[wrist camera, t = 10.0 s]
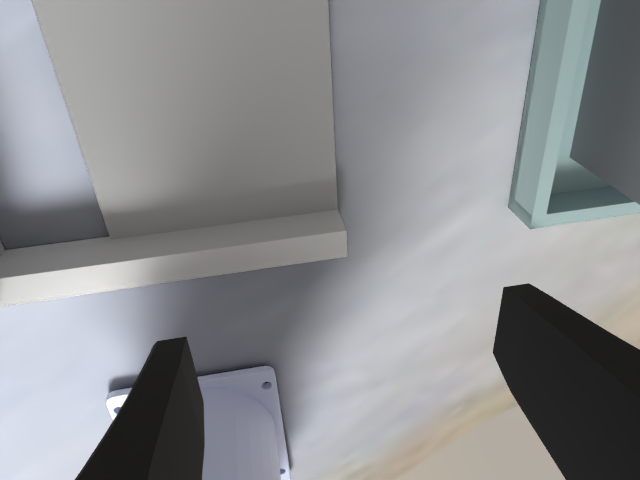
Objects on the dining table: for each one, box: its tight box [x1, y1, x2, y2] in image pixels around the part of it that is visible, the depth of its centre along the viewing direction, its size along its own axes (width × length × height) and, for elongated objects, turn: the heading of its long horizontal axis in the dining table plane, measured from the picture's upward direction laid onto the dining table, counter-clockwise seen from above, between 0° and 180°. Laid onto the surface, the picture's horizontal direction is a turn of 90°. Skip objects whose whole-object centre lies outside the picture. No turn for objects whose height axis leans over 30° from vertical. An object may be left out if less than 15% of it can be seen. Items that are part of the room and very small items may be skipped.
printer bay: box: [0, 0, 348, 307], centre depth 16 cm, size 12×15×4 cm
